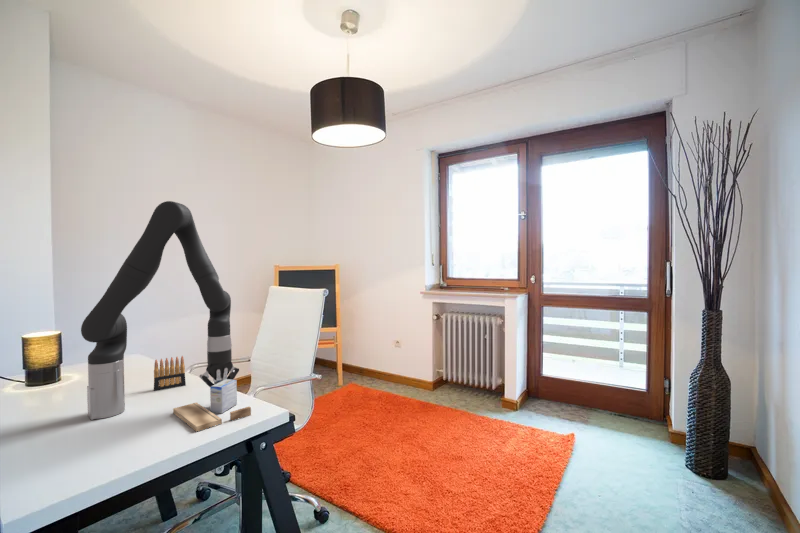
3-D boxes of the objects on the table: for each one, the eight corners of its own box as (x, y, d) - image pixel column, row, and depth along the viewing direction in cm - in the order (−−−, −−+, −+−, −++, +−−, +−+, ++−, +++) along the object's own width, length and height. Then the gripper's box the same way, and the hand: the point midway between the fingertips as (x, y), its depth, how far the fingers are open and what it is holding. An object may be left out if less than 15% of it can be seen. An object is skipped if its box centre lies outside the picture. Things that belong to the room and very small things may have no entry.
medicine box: (225, 403, 129) (225, 378, 129) (237, 404, 128) (236, 379, 128) (210, 412, 121) (209, 386, 121) (222, 413, 120) (222, 386, 120)
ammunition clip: (154, 391, 144) (153, 360, 144) (153, 390, 145) (153, 359, 145) (185, 385, 150) (185, 355, 150) (185, 384, 152) (184, 354, 152)
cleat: (231, 420, 114) (231, 413, 114) (230, 419, 115) (230, 412, 115) (250, 414, 119) (250, 407, 119) (249, 413, 120) (249, 406, 120)
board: (196, 431, 107) (196, 426, 107) (173, 413, 121) (173, 408, 121) (221, 423, 112) (221, 418, 112) (196, 406, 127) (196, 402, 127)
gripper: (233, 343, 136) (234, 391, 136) (194, 350, 126) (195, 401, 126) (243, 346, 131) (244, 395, 131) (203, 353, 121) (204, 406, 121)
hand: (220, 398), depth 128 cm, fingers closed
